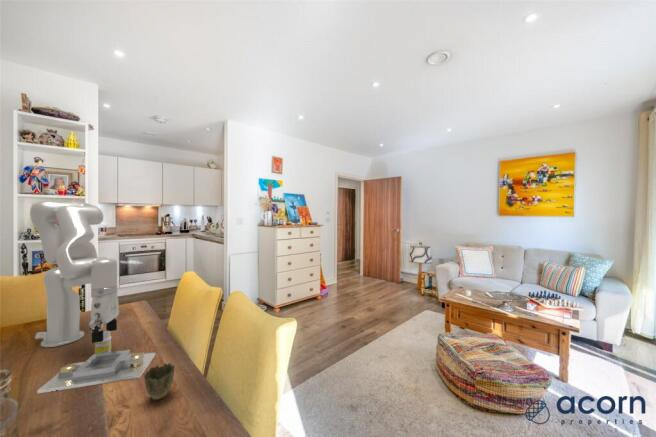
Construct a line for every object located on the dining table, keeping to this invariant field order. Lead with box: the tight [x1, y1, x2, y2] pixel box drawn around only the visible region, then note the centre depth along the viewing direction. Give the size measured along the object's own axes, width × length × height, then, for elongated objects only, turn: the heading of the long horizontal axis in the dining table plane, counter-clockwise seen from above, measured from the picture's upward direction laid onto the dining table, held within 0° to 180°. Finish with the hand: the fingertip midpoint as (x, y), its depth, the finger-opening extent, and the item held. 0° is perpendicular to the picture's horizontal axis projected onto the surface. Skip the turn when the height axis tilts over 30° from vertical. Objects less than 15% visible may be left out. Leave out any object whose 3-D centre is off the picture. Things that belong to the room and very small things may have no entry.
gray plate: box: [36, 349, 156, 395], centre depth 85 cm, size 26×14×4 cm, turn 108°
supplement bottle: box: [94, 330, 113, 354], centre depth 95 cm, size 5×5×8 cm
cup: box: [143, 362, 175, 401], centre depth 73 cm, size 8×7×8 cm
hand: (104, 336), depth 95 cm, fingers open, 9 cm apart
